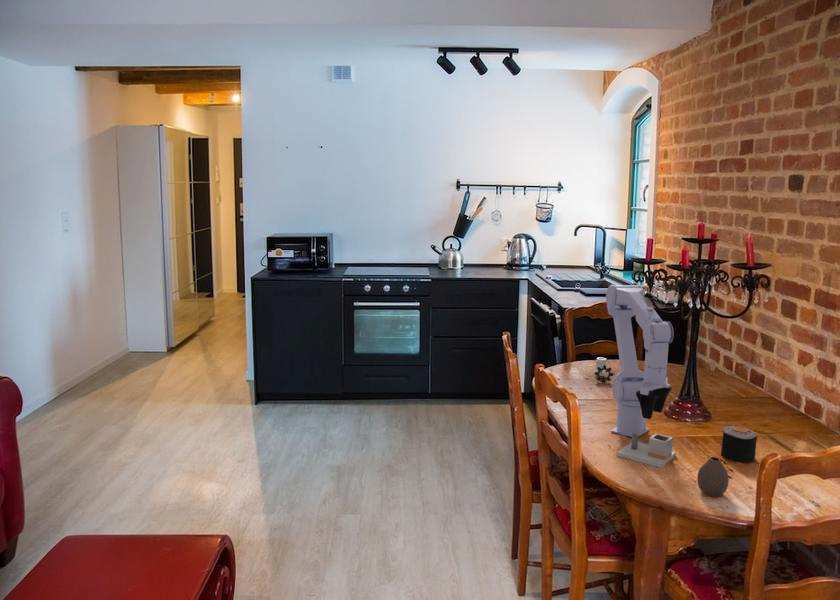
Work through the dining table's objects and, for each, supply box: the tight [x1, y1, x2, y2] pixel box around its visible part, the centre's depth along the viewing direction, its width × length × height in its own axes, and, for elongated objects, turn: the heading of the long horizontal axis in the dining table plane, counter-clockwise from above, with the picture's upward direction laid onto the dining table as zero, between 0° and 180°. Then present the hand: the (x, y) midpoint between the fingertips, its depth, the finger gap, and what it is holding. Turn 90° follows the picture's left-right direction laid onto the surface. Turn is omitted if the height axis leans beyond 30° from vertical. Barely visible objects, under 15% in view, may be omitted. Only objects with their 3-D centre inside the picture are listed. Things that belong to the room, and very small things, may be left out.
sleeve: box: [648, 432, 674, 460], centre depth 192 cm, size 5×5×5 cm
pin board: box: [616, 434, 677, 468], centre depth 194 cm, size 11×12×5 cm
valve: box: [594, 356, 614, 384], centre depth 267 cm, size 7×7×12 cm
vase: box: [696, 456, 730, 498], centre depth 172 cm, size 7×7×9 cm
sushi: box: [720, 425, 758, 464], centre depth 194 cm, size 8×8×8 cm
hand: (652, 414), depth 196 cm, fingers open, 7 cm apart
